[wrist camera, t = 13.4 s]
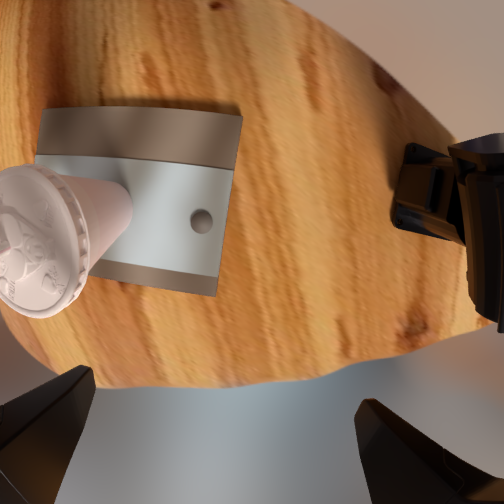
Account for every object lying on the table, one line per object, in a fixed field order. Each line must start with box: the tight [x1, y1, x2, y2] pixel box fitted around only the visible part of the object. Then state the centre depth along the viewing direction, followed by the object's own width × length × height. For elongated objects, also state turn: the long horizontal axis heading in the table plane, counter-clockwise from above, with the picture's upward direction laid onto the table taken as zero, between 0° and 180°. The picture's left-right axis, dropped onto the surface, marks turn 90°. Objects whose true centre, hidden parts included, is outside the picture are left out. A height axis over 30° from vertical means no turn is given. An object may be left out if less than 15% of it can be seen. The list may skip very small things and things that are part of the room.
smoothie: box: [0, 164, 133, 318], centre depth 12 cm, size 6×6×14 cm
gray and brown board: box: [35, 106, 243, 297], centre depth 18 cm, size 15×12×1 cm
